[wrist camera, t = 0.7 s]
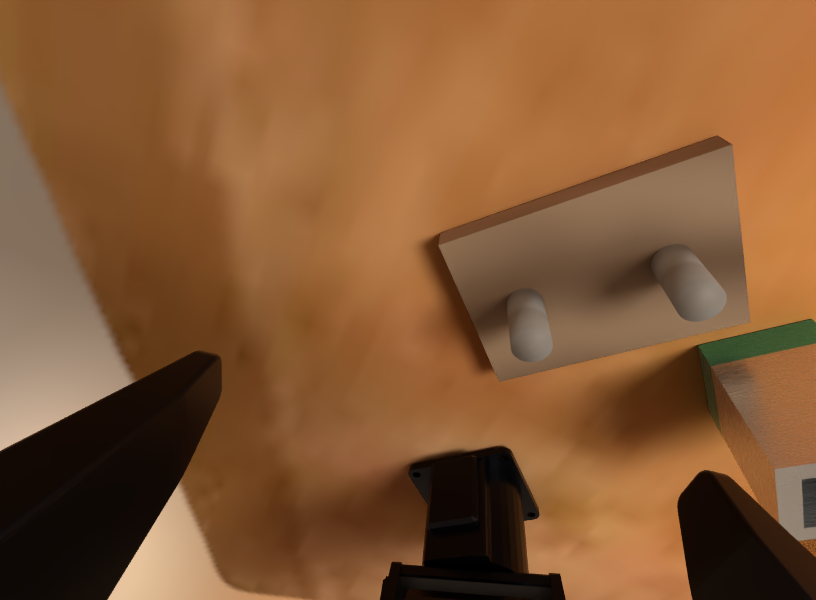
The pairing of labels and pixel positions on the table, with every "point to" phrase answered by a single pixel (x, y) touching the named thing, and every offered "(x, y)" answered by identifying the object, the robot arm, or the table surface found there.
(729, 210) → the pin board
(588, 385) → the table surface
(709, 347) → the sleeve
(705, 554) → the robot arm
